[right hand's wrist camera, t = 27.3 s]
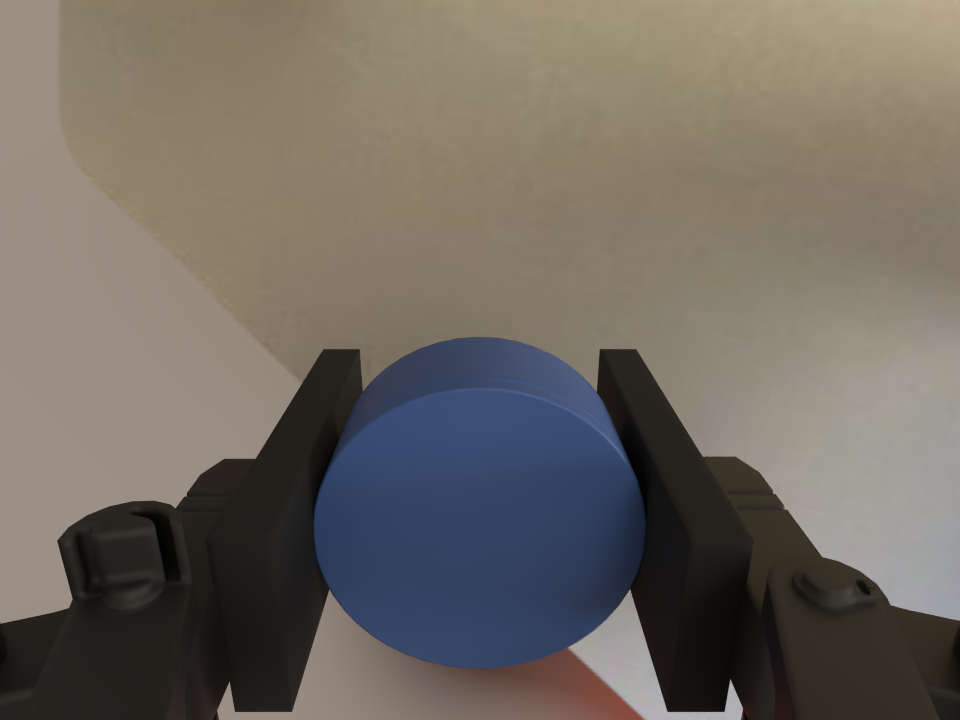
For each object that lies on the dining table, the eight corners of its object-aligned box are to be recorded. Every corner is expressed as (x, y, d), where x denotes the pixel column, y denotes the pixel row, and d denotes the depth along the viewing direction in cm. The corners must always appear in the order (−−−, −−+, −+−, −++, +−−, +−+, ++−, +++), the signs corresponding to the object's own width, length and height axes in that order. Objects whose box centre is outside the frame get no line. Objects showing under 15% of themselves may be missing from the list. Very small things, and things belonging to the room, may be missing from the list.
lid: (283, 424, 12) (243, 493, 10) (531, 280, 11) (544, 322, 9) (436, 618, 14) (429, 712, 11) (665, 506, 13) (702, 586, 11)
